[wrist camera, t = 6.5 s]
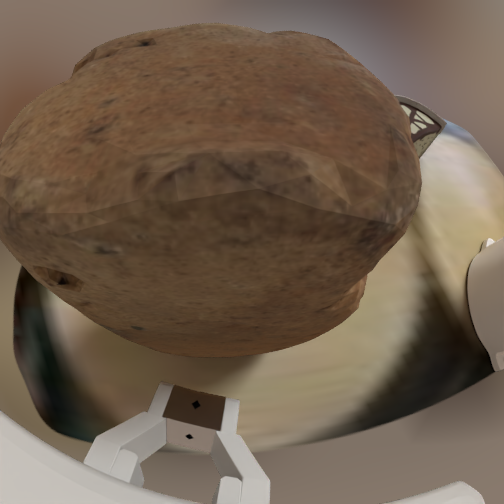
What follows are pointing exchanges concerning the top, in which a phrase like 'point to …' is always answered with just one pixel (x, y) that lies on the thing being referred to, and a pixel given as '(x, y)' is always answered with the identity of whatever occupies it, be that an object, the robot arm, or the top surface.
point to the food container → (421, 123)
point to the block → (210, 187)
